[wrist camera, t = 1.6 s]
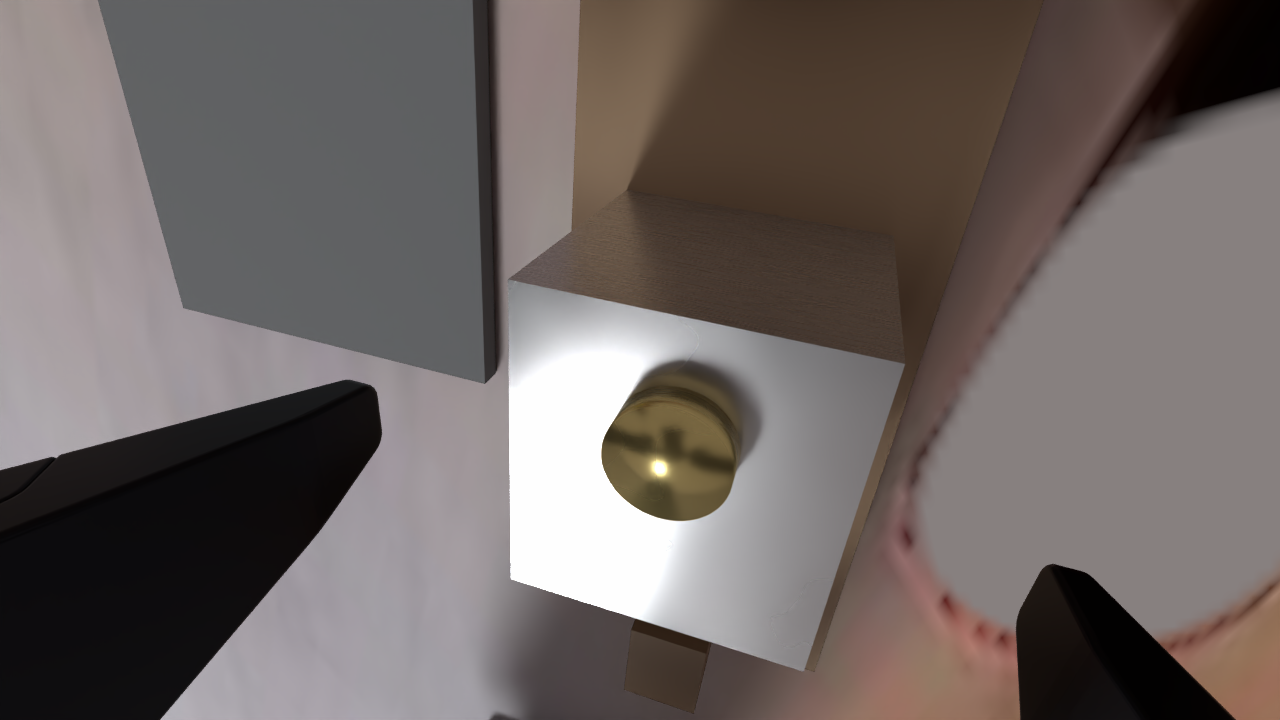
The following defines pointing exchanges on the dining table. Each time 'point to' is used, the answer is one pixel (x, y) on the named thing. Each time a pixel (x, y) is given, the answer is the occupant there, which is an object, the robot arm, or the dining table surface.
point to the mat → (322, 167)
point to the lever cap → (699, 414)
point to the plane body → (799, 158)
